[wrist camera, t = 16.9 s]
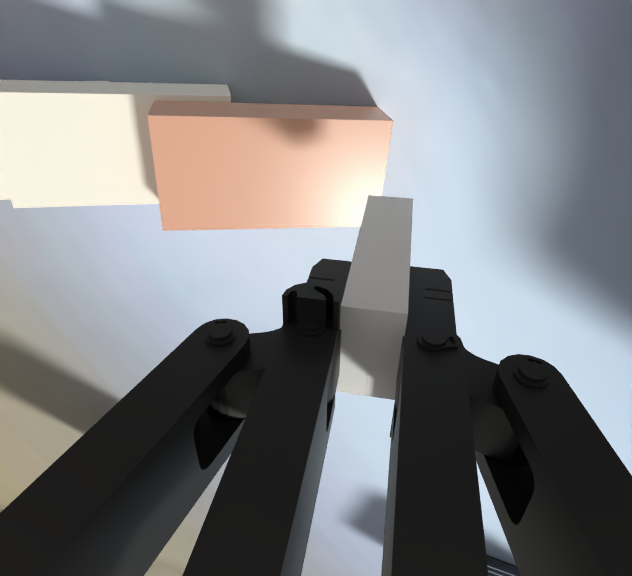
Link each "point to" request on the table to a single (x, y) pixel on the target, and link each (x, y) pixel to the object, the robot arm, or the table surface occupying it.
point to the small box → (501, 568)
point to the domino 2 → (266, 164)
